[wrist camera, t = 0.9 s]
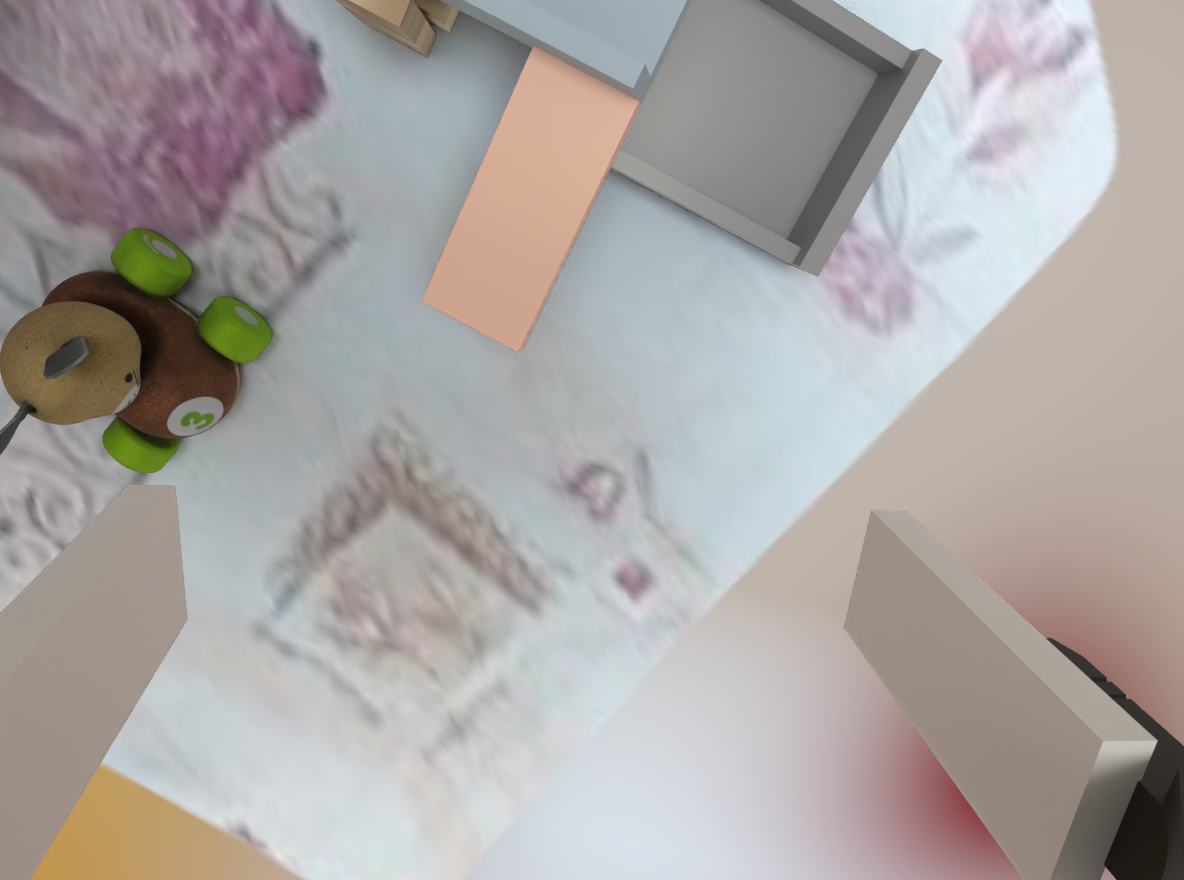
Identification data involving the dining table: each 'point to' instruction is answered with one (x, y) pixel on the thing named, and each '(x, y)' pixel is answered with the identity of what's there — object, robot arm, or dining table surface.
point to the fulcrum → (405, 19)
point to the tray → (774, 120)
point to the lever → (547, 152)
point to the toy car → (131, 354)
